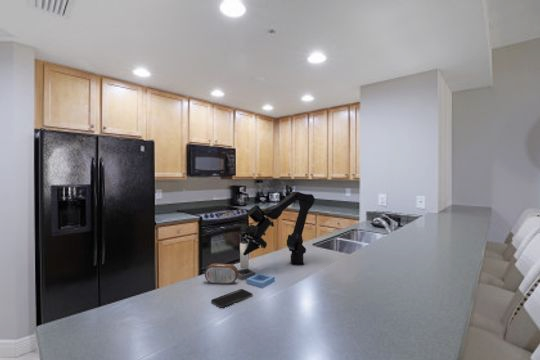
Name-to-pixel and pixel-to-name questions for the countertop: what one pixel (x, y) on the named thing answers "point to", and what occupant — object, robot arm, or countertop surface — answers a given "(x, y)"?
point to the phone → (231, 298)
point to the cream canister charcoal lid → (244, 258)
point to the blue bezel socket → (261, 284)
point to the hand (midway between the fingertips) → (241, 253)
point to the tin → (221, 273)
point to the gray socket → (245, 276)
